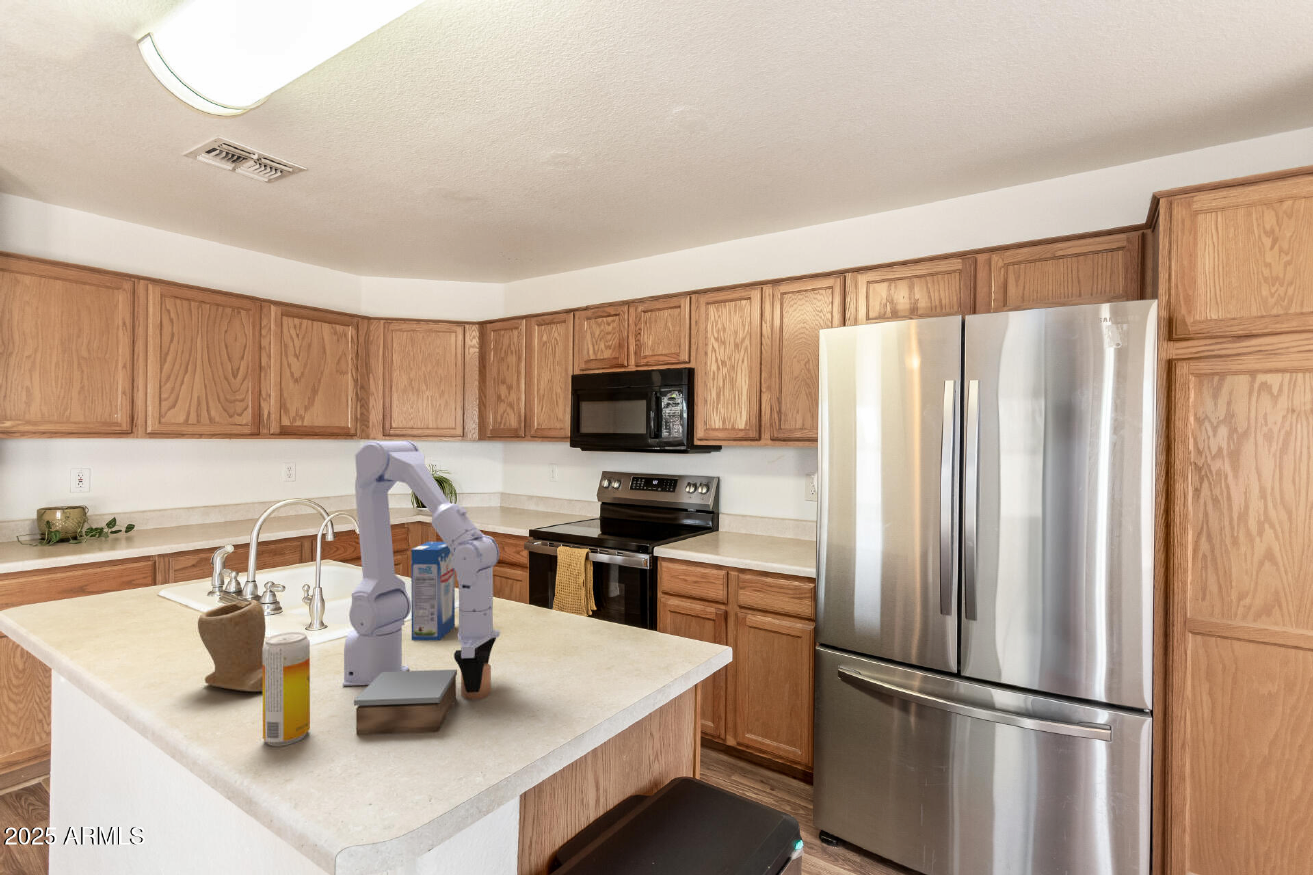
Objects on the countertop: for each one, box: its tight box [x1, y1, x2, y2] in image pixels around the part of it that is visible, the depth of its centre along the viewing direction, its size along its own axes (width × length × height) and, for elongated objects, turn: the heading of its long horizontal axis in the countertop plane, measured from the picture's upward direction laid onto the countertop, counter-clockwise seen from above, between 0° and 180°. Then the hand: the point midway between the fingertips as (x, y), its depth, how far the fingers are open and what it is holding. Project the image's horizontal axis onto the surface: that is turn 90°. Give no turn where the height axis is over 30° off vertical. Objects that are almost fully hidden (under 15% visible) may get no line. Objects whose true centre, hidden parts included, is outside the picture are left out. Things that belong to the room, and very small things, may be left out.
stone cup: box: [197, 599, 267, 692], centre depth 114 cm, size 15×12×15 cm
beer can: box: [262, 631, 311, 747], centre depth 95 cm, size 6×6×15 cm
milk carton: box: [410, 541, 456, 641], centre depth 144 cm, size 10×6×20 cm, turn 179°
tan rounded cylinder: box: [460, 663, 492, 700], centre depth 111 cm, size 5×5×4 cm
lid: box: [353, 668, 458, 707], centre depth 102 cm, size 12×12×1 cm
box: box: [355, 676, 457, 736], centre depth 102 cm, size 12×12×4 cm
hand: (476, 685), depth 111 cm, fingers closed on tan rounded cylinder, 5 cm apart
